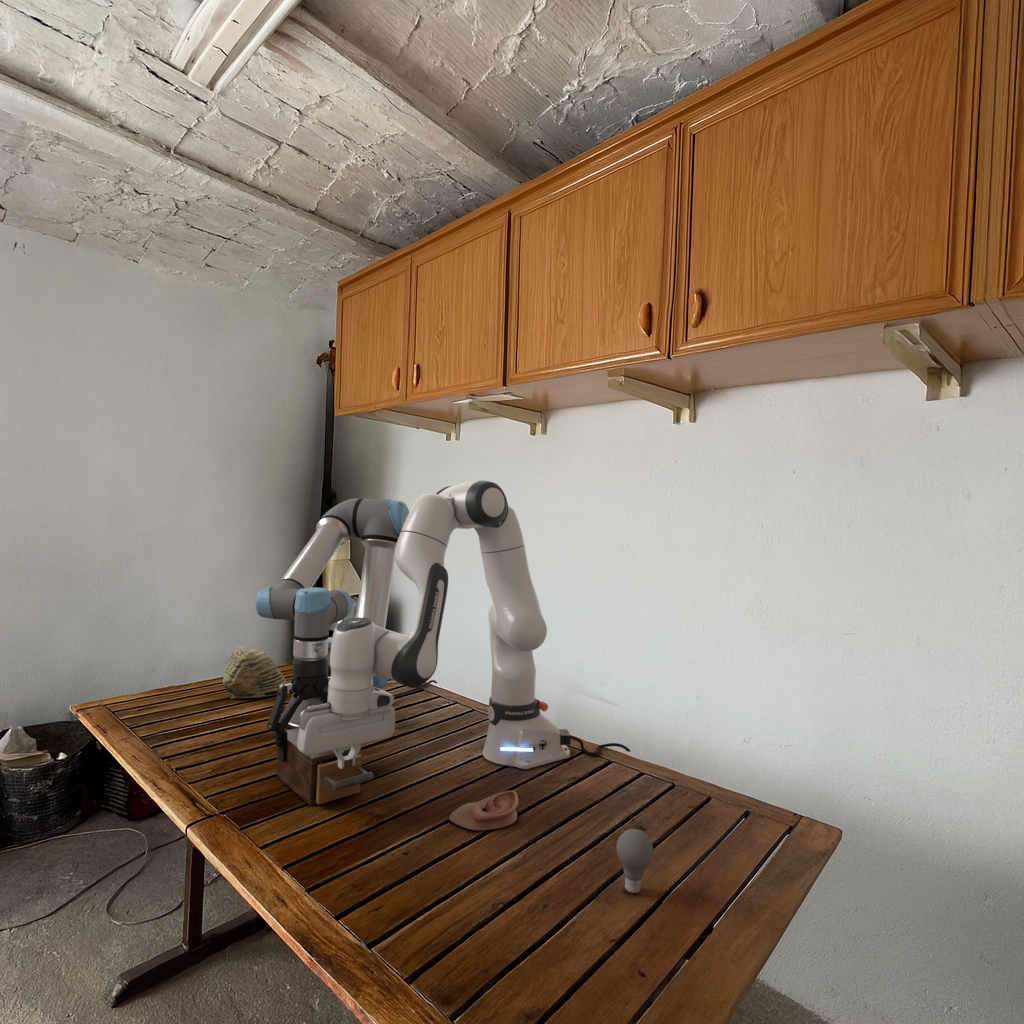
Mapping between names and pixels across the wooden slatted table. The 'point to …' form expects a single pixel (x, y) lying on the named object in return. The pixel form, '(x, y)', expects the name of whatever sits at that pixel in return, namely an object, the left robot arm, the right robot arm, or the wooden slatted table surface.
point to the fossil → (251, 674)
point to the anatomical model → (487, 812)
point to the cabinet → (301, 768)
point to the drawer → (339, 779)
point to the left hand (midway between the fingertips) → (306, 753)
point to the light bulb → (634, 857)
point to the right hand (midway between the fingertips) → (346, 766)
